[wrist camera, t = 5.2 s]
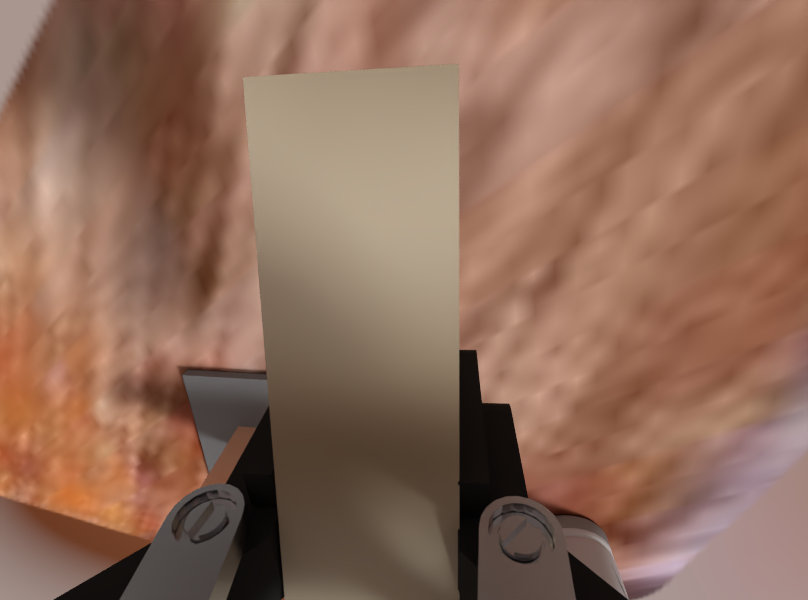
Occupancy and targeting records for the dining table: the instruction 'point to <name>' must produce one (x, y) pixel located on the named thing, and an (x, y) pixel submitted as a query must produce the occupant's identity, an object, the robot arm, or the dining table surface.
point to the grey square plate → (224, 406)
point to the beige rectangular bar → (361, 325)
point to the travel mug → (591, 549)
